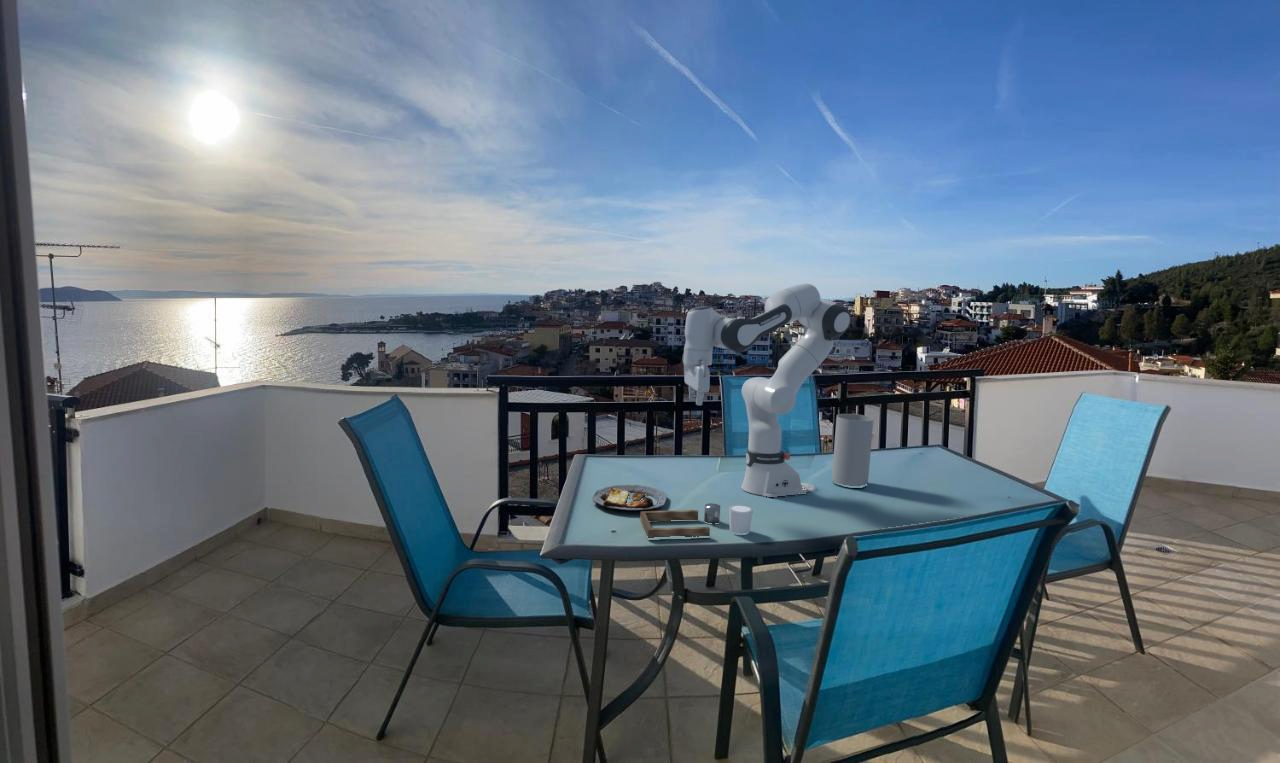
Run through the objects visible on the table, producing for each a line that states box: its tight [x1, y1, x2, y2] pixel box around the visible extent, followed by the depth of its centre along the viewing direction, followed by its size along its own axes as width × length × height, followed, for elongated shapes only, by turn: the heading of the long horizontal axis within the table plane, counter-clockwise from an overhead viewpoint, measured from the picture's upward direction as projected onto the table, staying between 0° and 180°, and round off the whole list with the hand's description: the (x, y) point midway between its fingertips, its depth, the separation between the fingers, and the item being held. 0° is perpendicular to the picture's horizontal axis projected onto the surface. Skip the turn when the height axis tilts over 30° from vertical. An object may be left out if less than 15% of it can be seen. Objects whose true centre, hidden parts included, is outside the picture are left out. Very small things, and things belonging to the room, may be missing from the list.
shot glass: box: [728, 504, 754, 534], centre depth 170 cm, size 7×7×7 cm
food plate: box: [592, 484, 668, 512], centre depth 193 cm, size 25×23×4 cm
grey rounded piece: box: [703, 502, 721, 524], centre depth 177 cm, size 5×5×5 cm
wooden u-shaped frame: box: [639, 509, 711, 538], centre depth 170 cm, size 17×14×3 cm
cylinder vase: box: [831, 413, 874, 486], centre depth 217 cm, size 12×12×25 cm
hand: (695, 402), depth 187 cm, fingers open, 8 cm apart
